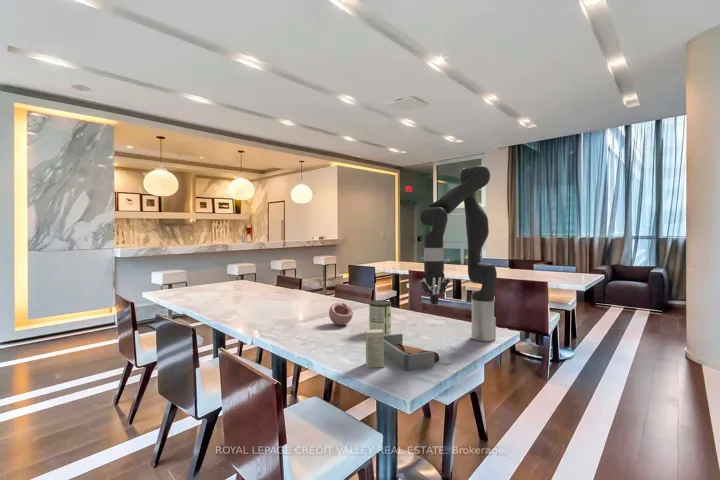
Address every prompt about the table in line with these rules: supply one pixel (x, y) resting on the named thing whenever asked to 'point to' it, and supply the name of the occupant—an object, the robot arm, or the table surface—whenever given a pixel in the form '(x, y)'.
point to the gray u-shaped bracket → (406, 359)
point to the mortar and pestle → (340, 313)
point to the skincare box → (374, 348)
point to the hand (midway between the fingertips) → (434, 304)
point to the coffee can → (380, 315)
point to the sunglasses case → (415, 351)
